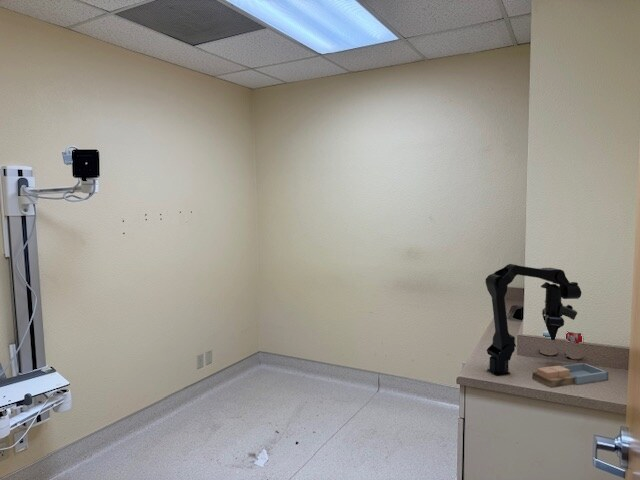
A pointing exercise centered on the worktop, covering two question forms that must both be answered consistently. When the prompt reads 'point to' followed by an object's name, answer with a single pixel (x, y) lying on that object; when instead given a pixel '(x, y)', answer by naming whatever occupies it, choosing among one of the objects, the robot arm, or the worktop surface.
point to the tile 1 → (547, 372)
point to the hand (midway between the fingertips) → (551, 337)
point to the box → (586, 373)
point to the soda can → (574, 337)
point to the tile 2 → (561, 371)
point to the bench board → (554, 380)
